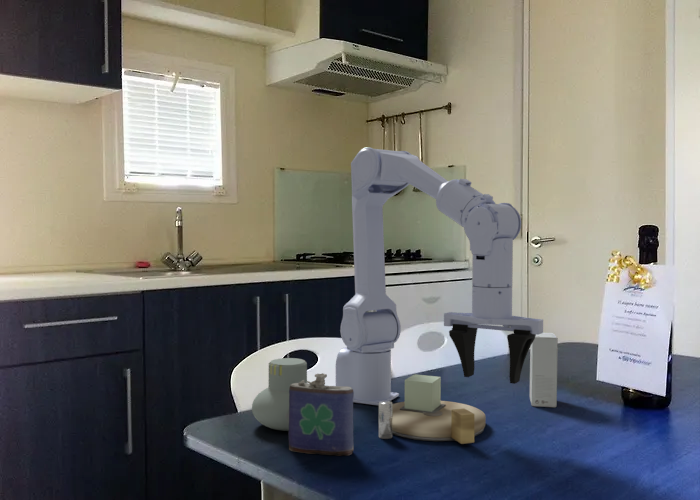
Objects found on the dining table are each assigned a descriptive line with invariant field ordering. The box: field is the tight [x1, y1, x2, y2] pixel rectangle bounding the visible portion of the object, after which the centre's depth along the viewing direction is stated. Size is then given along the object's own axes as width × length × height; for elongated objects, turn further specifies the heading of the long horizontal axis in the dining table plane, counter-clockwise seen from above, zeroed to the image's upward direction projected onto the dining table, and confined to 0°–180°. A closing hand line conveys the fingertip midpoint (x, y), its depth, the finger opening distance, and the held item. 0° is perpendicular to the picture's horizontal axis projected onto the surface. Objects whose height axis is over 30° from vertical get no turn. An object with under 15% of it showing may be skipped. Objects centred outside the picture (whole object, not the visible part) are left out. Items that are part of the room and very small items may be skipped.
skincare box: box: [529, 331, 559, 408], centre depth 116 cm, size 6×4×12 cm
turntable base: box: [378, 401, 485, 442], centre depth 102 cm, size 16×17×5 cm
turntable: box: [392, 400, 486, 445], centre depth 102 cm, size 16×16×4 cm
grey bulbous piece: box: [251, 357, 308, 432], centre depth 102 cm, size 11×8×10 cm
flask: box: [287, 373, 354, 457], centre depth 91 cm, size 9×3×11 cm, turn 74°
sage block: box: [404, 373, 442, 412], centre depth 106 cm, size 4×4×4 cm
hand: (491, 378), depth 97 cm, fingers open, 6 cm apart
